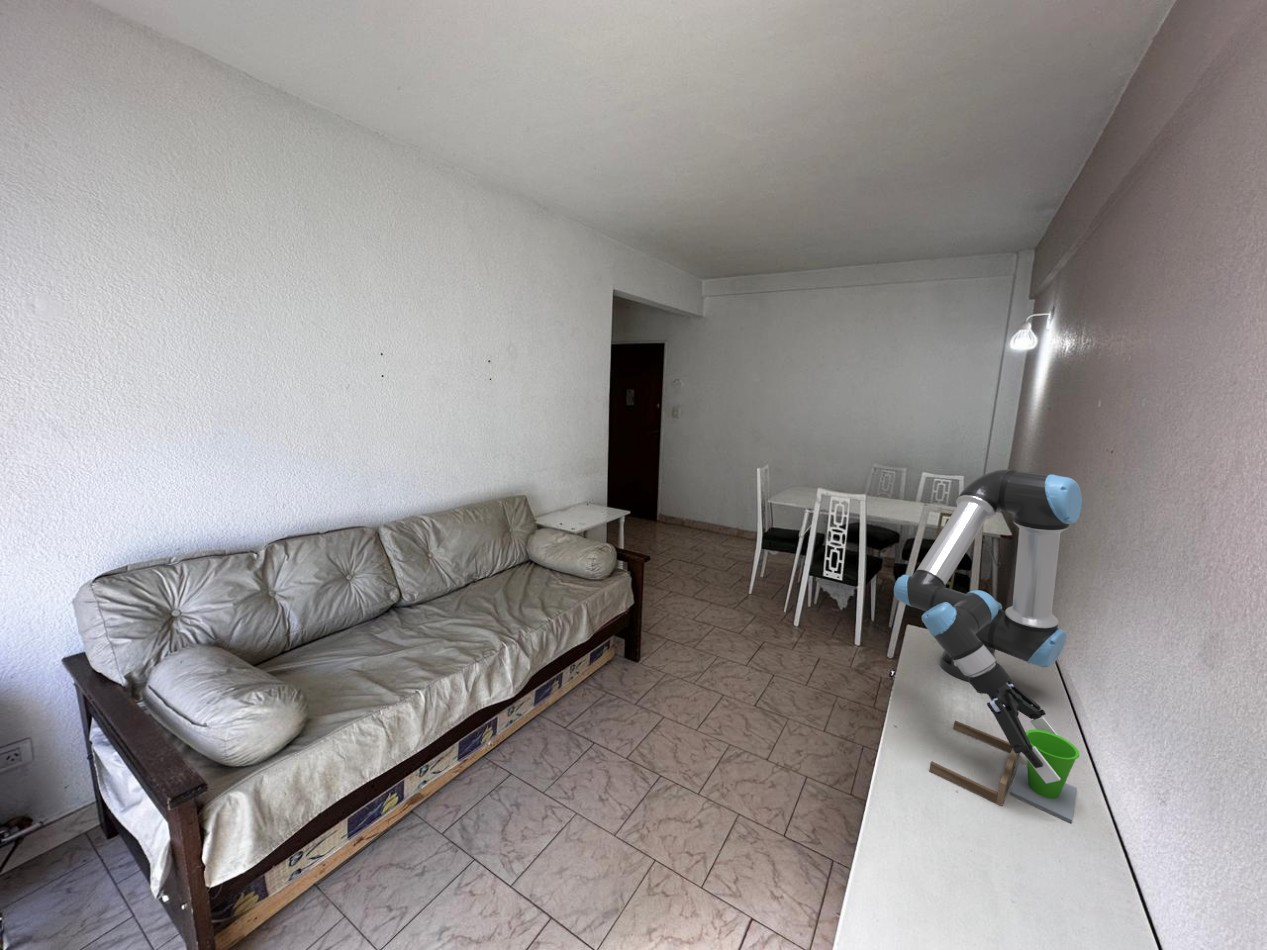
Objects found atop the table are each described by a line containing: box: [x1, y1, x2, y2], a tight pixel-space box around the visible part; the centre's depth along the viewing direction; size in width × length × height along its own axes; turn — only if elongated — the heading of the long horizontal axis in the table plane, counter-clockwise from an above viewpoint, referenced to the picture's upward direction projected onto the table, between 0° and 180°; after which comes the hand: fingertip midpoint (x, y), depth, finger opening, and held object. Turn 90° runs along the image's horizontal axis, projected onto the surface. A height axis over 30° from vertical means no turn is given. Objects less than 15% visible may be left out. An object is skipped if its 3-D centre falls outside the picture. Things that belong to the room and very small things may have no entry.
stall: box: [929, 720, 1021, 807], centre depth 115 cm, size 22×14×5 cm, turn 135°
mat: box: [1009, 763, 1078, 824], centre depth 107 cm, size 12×10×1 cm
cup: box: [1025, 729, 1080, 799], centre depth 106 cm, size 9×9×11 cm
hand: (1057, 764), depth 105 cm, fingers open, 13 cm apart
